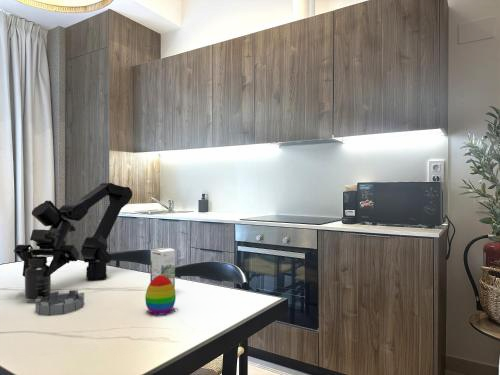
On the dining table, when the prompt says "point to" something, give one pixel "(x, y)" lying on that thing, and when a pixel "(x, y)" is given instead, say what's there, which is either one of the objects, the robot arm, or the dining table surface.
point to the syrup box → (163, 263)
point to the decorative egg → (160, 295)
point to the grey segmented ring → (69, 300)
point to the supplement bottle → (37, 278)
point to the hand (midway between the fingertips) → (35, 276)
